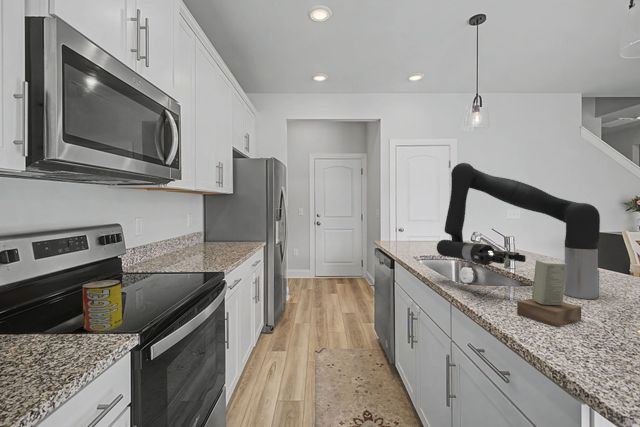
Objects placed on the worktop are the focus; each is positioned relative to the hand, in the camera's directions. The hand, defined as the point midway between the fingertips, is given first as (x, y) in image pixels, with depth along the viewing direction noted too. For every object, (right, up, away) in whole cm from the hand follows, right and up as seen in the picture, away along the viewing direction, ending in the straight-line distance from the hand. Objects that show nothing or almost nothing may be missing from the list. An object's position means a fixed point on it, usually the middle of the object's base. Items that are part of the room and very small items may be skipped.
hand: (514, 259), depth 105 cm
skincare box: (+3, -11, -11) cm, 16 cm away
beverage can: (-125, -17, -14) cm, 127 cm away
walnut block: (+3, -16, -11) cm, 20 cm away
